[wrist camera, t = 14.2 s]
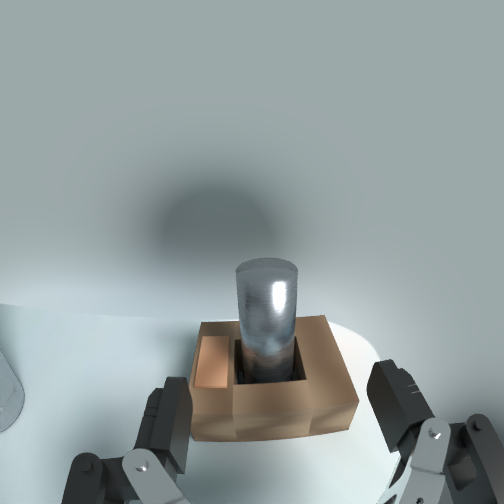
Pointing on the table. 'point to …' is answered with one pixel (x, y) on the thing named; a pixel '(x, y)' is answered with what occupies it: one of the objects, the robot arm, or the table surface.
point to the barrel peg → (267, 318)
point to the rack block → (269, 388)
